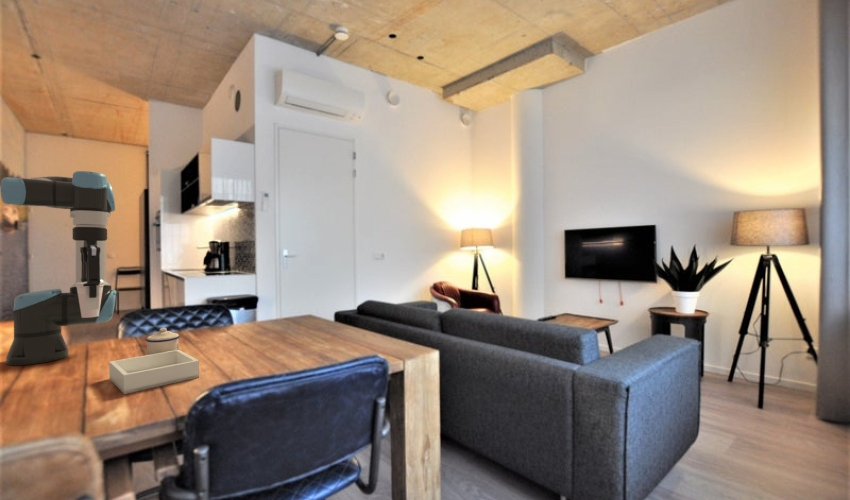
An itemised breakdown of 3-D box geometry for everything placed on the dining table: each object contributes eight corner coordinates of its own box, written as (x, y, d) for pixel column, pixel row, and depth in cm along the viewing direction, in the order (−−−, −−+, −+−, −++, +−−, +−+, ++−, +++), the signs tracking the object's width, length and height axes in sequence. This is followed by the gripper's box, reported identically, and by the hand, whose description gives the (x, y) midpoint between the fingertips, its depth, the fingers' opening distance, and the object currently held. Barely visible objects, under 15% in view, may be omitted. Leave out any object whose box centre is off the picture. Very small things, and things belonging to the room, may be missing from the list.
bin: (109, 378, 115) (109, 361, 115) (178, 364, 129) (178, 349, 129) (124, 394, 103) (124, 375, 103) (198, 377, 117) (198, 360, 117)
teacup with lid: (183, 363, 131) (183, 328, 131) (151, 369, 124) (151, 332, 124) (170, 356, 139) (170, 323, 138) (139, 362, 132) (139, 327, 131)
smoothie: (87, 319, 108) (87, 268, 108) (69, 318, 109) (68, 267, 109) (110, 315, 114) (110, 266, 114) (93, 314, 116) (93, 266, 116)
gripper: (68, 227, 115) (68, 306, 116) (77, 224, 102) (77, 313, 102) (101, 228, 121) (101, 303, 121) (113, 226, 108) (113, 310, 108)
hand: (90, 307), depth 112 cm, fingers closed on smoothie, 6 cm apart
